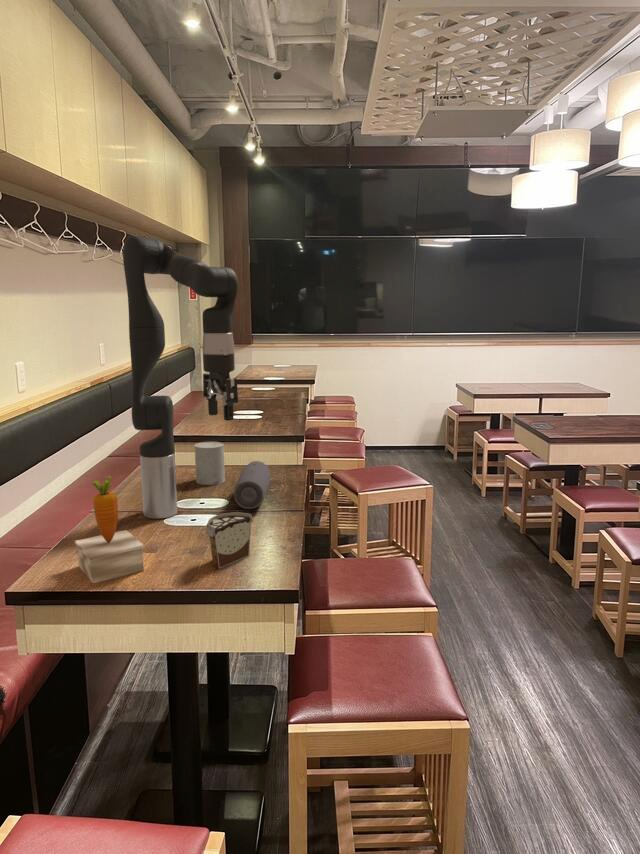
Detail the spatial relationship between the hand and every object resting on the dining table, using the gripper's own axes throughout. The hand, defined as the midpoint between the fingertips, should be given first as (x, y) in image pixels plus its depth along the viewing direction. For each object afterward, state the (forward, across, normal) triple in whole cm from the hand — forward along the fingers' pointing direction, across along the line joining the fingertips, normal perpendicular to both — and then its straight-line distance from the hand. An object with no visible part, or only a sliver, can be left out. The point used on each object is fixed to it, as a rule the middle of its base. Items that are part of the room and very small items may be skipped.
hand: (220, 417), depth 156 cm
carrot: (+24, +5, -31) cm, 39 cm away
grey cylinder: (+30, -46, +18) cm, 58 cm away
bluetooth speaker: (+30, -19, +19) cm, 41 cm away
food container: (+30, +15, -8) cm, 35 cm away
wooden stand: (+30, +5, -31) cm, 43 cm away
